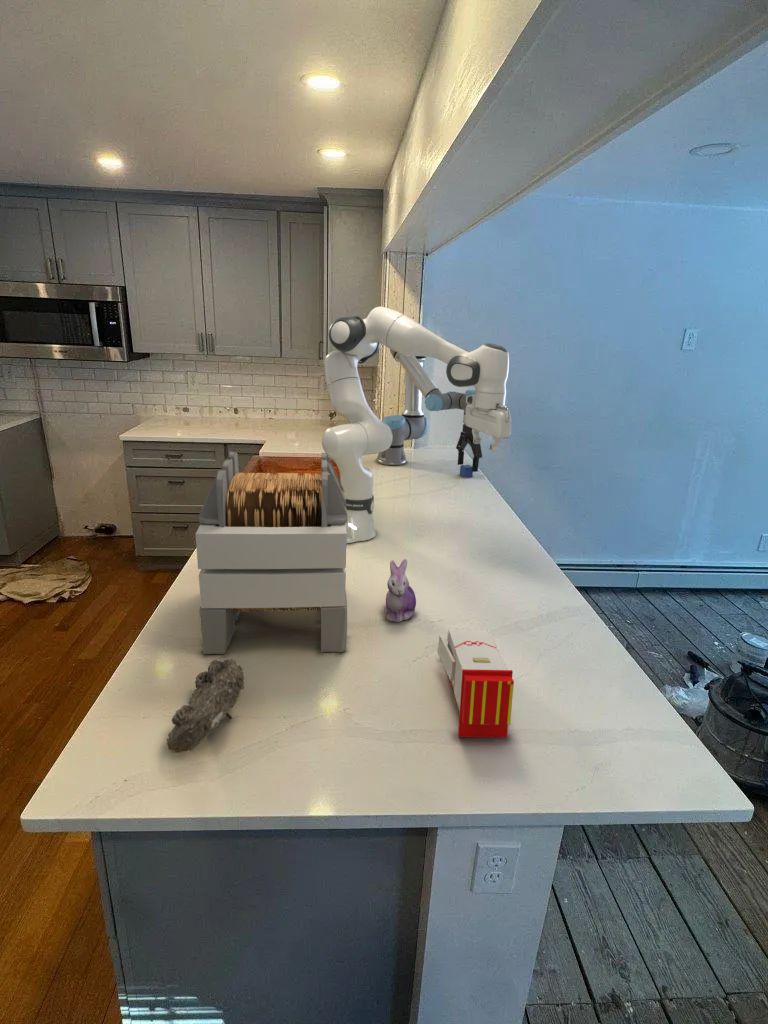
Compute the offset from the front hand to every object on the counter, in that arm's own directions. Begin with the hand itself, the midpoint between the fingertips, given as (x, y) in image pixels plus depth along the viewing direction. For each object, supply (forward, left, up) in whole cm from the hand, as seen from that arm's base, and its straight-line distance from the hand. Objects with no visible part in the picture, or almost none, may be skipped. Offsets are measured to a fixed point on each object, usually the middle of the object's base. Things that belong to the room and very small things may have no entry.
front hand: (484, 447), depth 172 cm
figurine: (-13, -44, -36) cm, 59 cm away
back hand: (-16, +94, -32) cm, 101 cm away
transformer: (-42, -56, -36) cm, 79 cm away
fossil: (-37, -94, -36) cm, 108 cm away
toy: (+9, -70, -36) cm, 80 cm away
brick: (-16, +94, -36) cm, 102 cm away
